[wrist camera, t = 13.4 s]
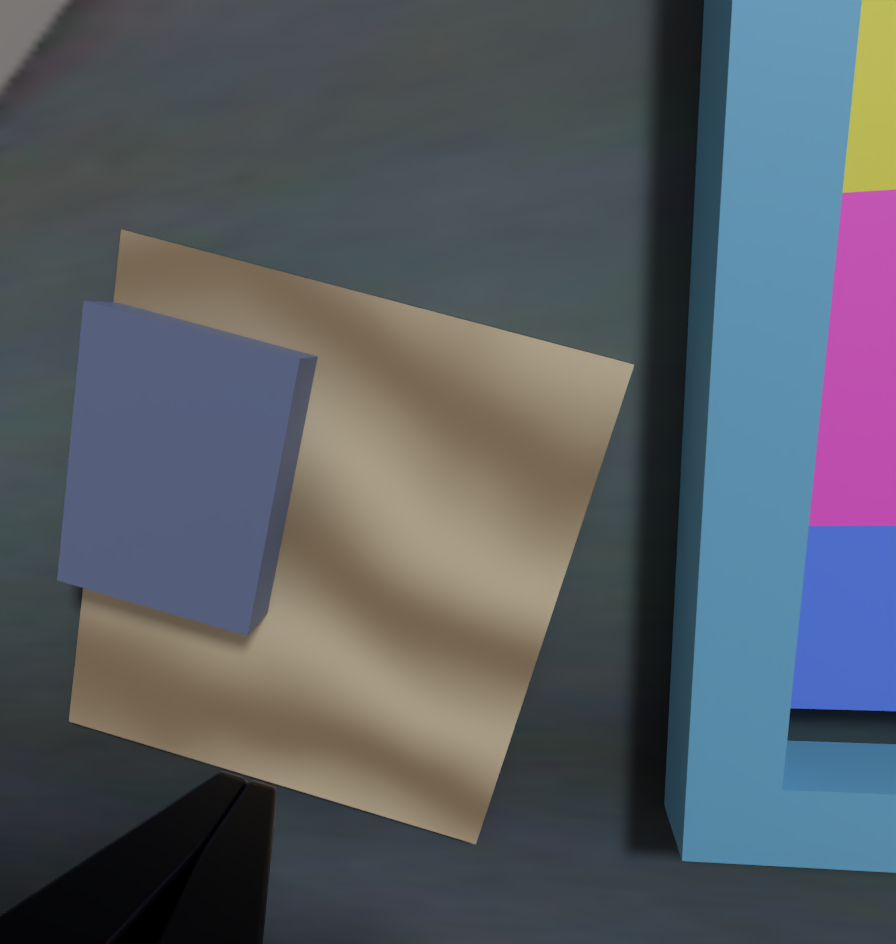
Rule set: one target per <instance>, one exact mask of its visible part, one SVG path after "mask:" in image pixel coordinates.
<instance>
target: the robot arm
mask: <svg viewBox="0 0 896 944" xmlns="http://www.w3.org/2000/svg"><path fill="white" fill-rule="evenodd" d="M276 800H277V789H276V787H274V786H272V785H268V784H265V783H262V782H258V781H255V780H252V781H250V782H248V780H247V779H246V778H245V777H242V776H239V775H235V774H232V773H229V772H225V771H222V772H218V773H216V774H215V775H213V776H212V777H210V778H209V779H207V780H206V781H204V782H203V783H201V784H200V785H198V786H197V787H195V788H194V789H192V790H191V791H189V792H187V793H186V794H184V795H183V796H181V797H180V798H178V799H177V800H175V801H174V802H172V803H171V804H169V805H168V806H166V807H165V808H163V809H162V810H160V811H159V812H157V813H156V814H154V815H153V816H151V817H150V818H148V819H146V820H145V821H143V822H142V823H140V824H139V825H137V826H136V827H134V828H133V829H131V830H130V831H128V832H127V833H125V834H124V835H122V836H121V837H119V838H118V839H116V840H115V841H113V842H112V843H110V844H109V845H107V846H105V847H104V848H102V849H101V850H99V851H98V852H96V853H95V854H93V855H92V856H90V857H89V858H87V859H86V860H84V861H83V862H81V863H80V864H78V865H77V866H75V867H74V868H72V869H71V870H69V871H68V872H66V873H65V874H63V875H61V876H60V877H58V878H57V879H55V880H54V881H52V882H51V883H49V884H48V885H46V886H45V887H43V888H42V889H40V890H39V891H37V892H36V893H34V894H33V895H31V896H30V897H28V898H27V899H25V900H24V901H22V902H20V903H19V904H17V905H16V906H14V907H13V908H11V909H10V910H8V911H7V912H5V913H4V914H2V915H1V916H0V944H263V935H264V924H265V914H266V904H267V893H268V883H269V873H270V862H271V852H272V842H273V831H274V821H275V811H276Z"/></svg>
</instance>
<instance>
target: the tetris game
mask: <svg viewBox="0 0 896 944" xmlns="http://www.w3.org/2000/svg"><path fill="white" fill-rule="evenodd" d="M790 708H797V709H834V710H870V711H896V0H704V15H703V35H702V55H701V75H700V95H699V116H698V136H697V156H696V176H695V196H694V216H693V236H692V257H691V277H690V297H689V317H688V337H687V357H686V377H685V398H684V418H683V438H682V458H681V478H680V498H679V518H678V538H677V559H676V579H675V599H674V619H673V639H672V659H671V679H670V700H669V720H668V740H667V760H666V780H665V800H664V806H665V809H666V812H667V815H668V819H669V822H670V825H671V828H672V831H673V834H674V837H675V841H676V844H677V847H678V850H679V853H680V856H681V859H682V861H692V862H711V863H729V864H747V865H765V866H783V867H802V868H820V869H838V870H856V871H874V872H893V873H896V744H868V743H838V742H809V741H787V737H788V727H789V717H790Z"/></svg>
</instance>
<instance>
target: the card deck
mask: <svg viewBox="0 0 896 944" xmlns="http://www.w3.org/2000/svg"><path fill="white" fill-rule="evenodd" d="M317 358H318V356H314V355H311V354H307V353H303V352H300V351H296V350H292V349H289V348H285V347H281V346H277V345H274V344H270V343H266V342H263V341H259V340H255V339H251V338H248V337H244V336H240V335H237V334H233V333H229V332H226V331H222V330H218V329H214V328H211V327H207V326H203V325H200V324H196V323H192V322H189V321H185V320H181V319H177V318H174V317H170V316H166V315H163V314H159V313H155V312H151V311H148V310H144V309H140V308H137V307H133V306H129V305H126V304H122V303H115V302H100V301H85V300H84V301H83V312H82V322H81V333H80V344H79V354H78V365H77V375H76V386H75V397H74V407H73V418H72V428H71V439H70V450H69V460H68V471H67V481H66V492H65V502H64V513H63V524H62V534H61V545H60V555H59V566H58V577H57V580H58V581H61V582H64V583H68V584H71V585H75V586H78V587H82V588H85V589H88V590H92V591H95V592H99V593H102V594H105V595H109V596H112V597H116V598H119V599H123V600H126V601H129V602H133V603H136V604H140V605H143V606H147V607H150V608H153V609H157V610H160V611H164V612H167V613H171V614H174V615H177V616H181V617H184V618H188V619H191V620H195V621H198V622H201V623H205V624H208V625H212V626H215V627H219V628H222V629H225V630H229V631H232V632H236V633H239V634H243V635H246V636H248V635H249V634H250V633H251V631H252V630H253V629H254V628H255V627H256V626H257V625H258V623H259V622H260V621H261V620H262V619H263V618H264V616H265V615H266V614H267V613H268V608H269V603H270V598H271V592H272V587H273V582H274V577H275V572H276V567H277V562H278V557H279V552H280V547H281V541H282V536H283V531H284V526H285V521H286V516H287V511H288V506H289V501H290V495H291V490H292V485H293V480H294V475H295V470H296V465H297V460H298V455H299V450H300V444H301V439H302V434H303V429H304V424H305V419H306V414H307V409H308V404H309V399H310V393H311V388H312V383H313V378H314V373H315V368H316V363H317Z"/></svg>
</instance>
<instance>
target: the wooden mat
mask: <svg viewBox="0 0 896 944" xmlns="http://www.w3.org/2000/svg"><path fill="white" fill-rule="evenodd" d="M114 302H115V303H122V304H126V305H129V306H133V307H137V308H140V309H144V310H148V311H151V312H155V313H159V314H163V315H166V316H170V317H174V318H177V319H181V320H185V321H189V322H192V323H196V324H200V325H203V326H207V327H211V328H214V329H218V330H222V331H226V332H229V333H233V334H237V335H240V336H244V337H248V338H251V339H255V340H259V341H263V342H266V343H270V344H274V345H277V346H281V347H285V348H289V349H292V350H296V351H300V352H303V353H307V354H311V355H314V356H318V358H317V363H316V368H315V373H314V378H313V383H312V388H311V393H310V399H309V404H308V409H307V414H306V419H305V424H304V429H303V434H302V439H301V444H300V450H299V455H298V460H297V465H296V470H295V475H294V480H293V485H292V490H291V495H290V501H289V506H288V511H287V516H286V521H285V526H284V531H283V536H282V541H281V547H280V552H279V557H278V562H277V567H276V572H275V577H274V582H273V587H272V592H271V598H270V603H269V608H268V613H267V614H266V615H265V616H264V618H263V619H262V620H261V621H260V622H259V623H258V625H257V626H256V627H255V628H254V629H253V630H252V631H251V633H250V634H249V635H248V636H246V635H243V634H239V633H236V632H232V631H229V630H225V629H222V628H219V627H215V626H212V625H208V624H205V623H201V622H198V621H195V620H191V619H188V618H184V617H181V616H177V615H174V614H171V613H167V612H164V611H160V610H157V609H153V608H150V607H147V606H143V605H140V604H136V603H133V602H129V601H126V600H123V599H119V598H116V597H112V596H109V595H105V594H102V593H99V592H95V591H92V590H88V589H85V588H83V593H82V603H81V612H80V622H79V631H78V640H77V650H76V659H75V669H74V678H73V687H72V697H71V706H70V716H69V722H72V723H76V724H79V725H82V726H85V727H89V728H92V729H95V730H99V731H102V732H105V733H109V734H112V735H115V736H119V737H122V738H125V739H129V740H132V741H135V742H138V743H142V744H145V745H148V746H152V747H155V748H158V749H162V750H165V751H168V752H172V753H175V754H178V755H182V756H185V757H188V758H191V759H195V760H198V761H201V762H205V763H208V764H211V765H215V766H218V767H221V768H225V769H228V770H231V771H235V772H238V773H241V774H245V775H248V776H251V777H254V778H258V779H261V780H264V781H268V782H271V783H274V784H278V785H281V786H284V787H288V788H291V789H294V790H298V791H301V792H304V793H307V794H311V795H314V796H317V797H321V798H324V799H327V800H331V801H334V802H337V803H341V804H344V805H347V806H351V807H354V808H357V809H360V810H364V811H367V812H370V813H374V814H377V815H380V816H384V817H387V818H390V819H394V820H397V821H400V822H404V823H407V824H410V825H414V826H417V827H420V828H423V829H427V830H430V831H433V832H437V833H440V834H443V835H447V836H450V837H453V838H457V839H460V840H463V841H467V842H470V843H473V844H476V842H477V839H478V836H479V833H480V830H481V827H482V824H483V821H484V818H485V815H486V812H487V809H488V806H489V803H490V800H491V797H492V794H493V791H494V788H495V785H496V782H497V779H498V776H499V773H500V770H501V767H502V764H503V761H504V757H505V754H506V751H507V748H508V745H509V742H510V739H511V736H512V733H513V730H514V727H515V724H516V721H517V718H518V715H519V712H520V709H521V706H522V703H523V700H524V697H525V694H526V691H527V688H528V685H529V682H530V679H531V676H532V673H533V670H534V667H535V664H536V661H537V658H538V655H539V652H540V649H541V646H542V643H543V640H544V637H545V633H546V630H547V627H548V624H549V621H550V618H551V615H552V612H553V609H554V606H555V603H556V600H557V597H558V594H559V591H560V588H561V585H562V582H563V579H564V576H565V573H566V570H567V567H568V564H569V561H570V558H571V555H572V552H573V549H574V546H575V543H576V540H577V537H578V534H579V531H580V528H581V525H582V522H583V519H584V516H585V513H586V509H587V506H588V503H589V500H590V497H591V494H592V491H593V488H594V485H595V482H596V479H597V476H598V473H599V470H600V467H601V464H602V461H603V458H604V455H605V452H606V449H607V446H608V443H609V440H610V437H611V434H612V431H613V428H614V425H615V422H616V419H617V416H618V413H619V410H620V407H621V404H622V401H623V398H624V395H625V392H626V389H627V385H628V382H629V379H630V376H631V373H632V370H633V367H634V365H633V364H630V363H626V362H622V361H618V360H614V359H611V358H607V357H603V356H599V355H595V354H592V353H588V352H584V351H580V350H577V349H573V348H569V347H565V346H561V345H558V344H554V343H550V342H546V341H542V340H539V339H535V338H531V337H527V336H523V335H520V334H516V333H512V332H508V331H504V330H501V329H497V328H493V327H489V326H486V325H482V324H478V323H474V322H470V321H467V320H463V319H459V318H455V317H451V316H448V315H444V314H440V313H436V312H432V311H429V310H425V309H421V308H417V307H413V306H410V305H406V304H402V303H398V302H395V301H391V300H387V299H383V298H379V297H376V296H372V295H368V294H364V293H360V292H357V291H353V290H349V289H345V288H341V287H338V286H334V285H330V284H326V283H322V282H319V281H315V280H311V279H307V278H304V277H300V276H296V275H292V274H288V273H285V272H281V271H277V270H273V269H269V268H266V267H262V266H258V265H254V264H250V263H247V262H243V261H239V260H235V259H231V258H228V257H224V256H220V255H216V254H213V253H209V252H205V251H201V250H197V249H194V248H190V247H186V246H182V245H178V244H175V243H171V242H167V241H163V240H159V239H156V238H152V237H148V236H144V235H140V234H137V233H133V232H129V231H125V230H121V236H120V246H119V255H118V265H117V274H116V283H115V293H114Z"/></svg>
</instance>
